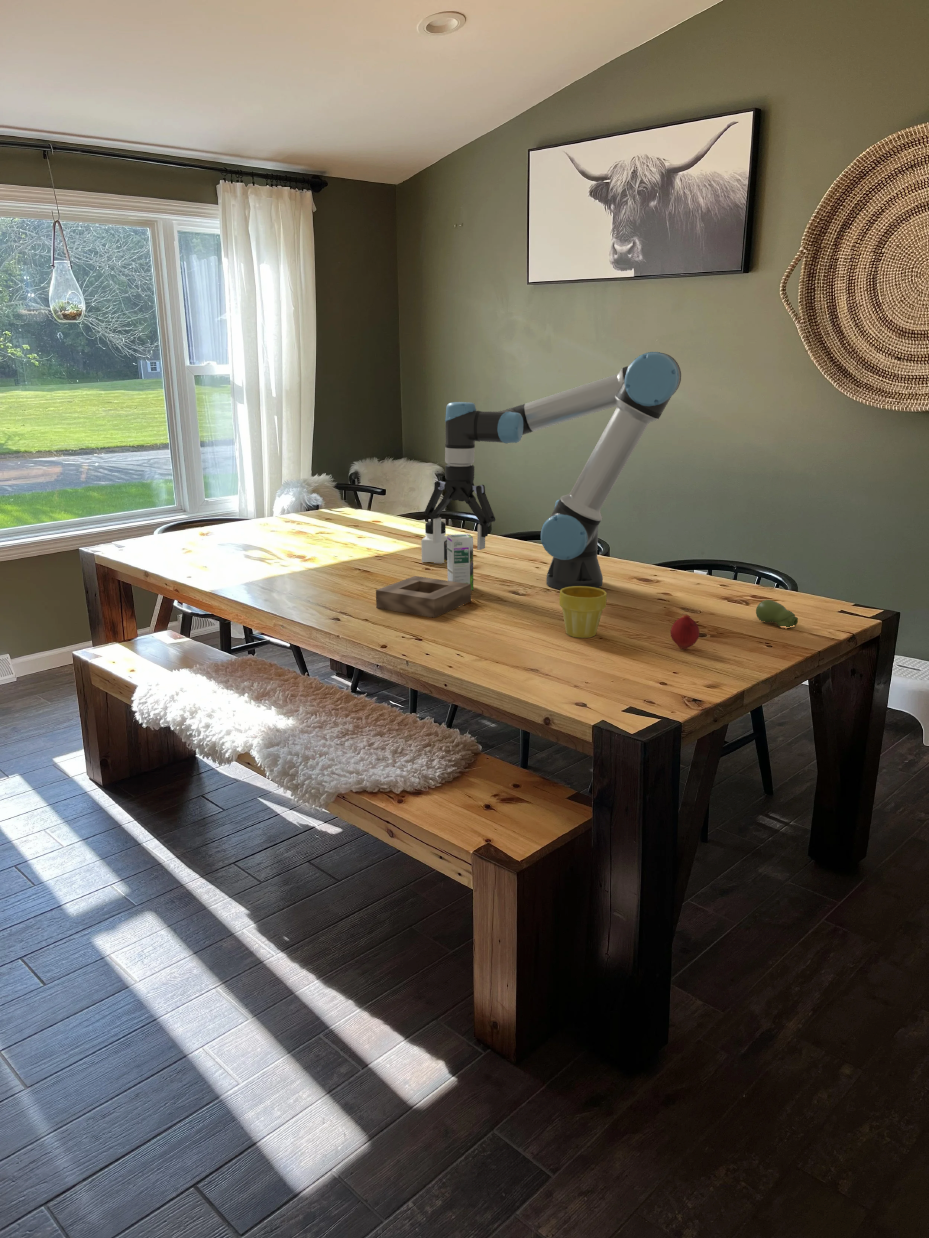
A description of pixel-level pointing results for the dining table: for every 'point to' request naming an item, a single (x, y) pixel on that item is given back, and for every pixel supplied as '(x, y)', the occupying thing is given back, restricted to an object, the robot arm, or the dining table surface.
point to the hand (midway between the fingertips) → (458, 545)
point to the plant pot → (582, 609)
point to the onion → (684, 631)
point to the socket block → (423, 596)
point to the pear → (775, 613)
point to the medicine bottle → (434, 545)
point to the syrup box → (460, 558)
